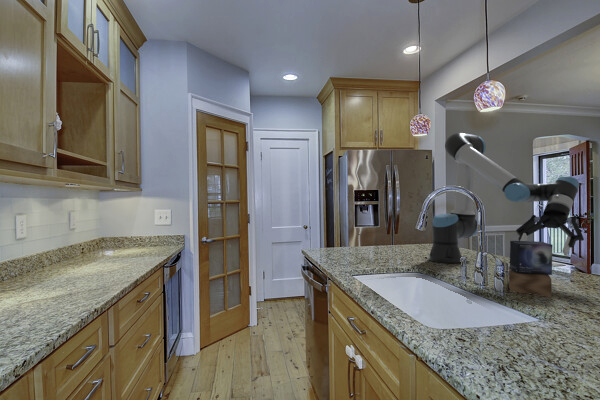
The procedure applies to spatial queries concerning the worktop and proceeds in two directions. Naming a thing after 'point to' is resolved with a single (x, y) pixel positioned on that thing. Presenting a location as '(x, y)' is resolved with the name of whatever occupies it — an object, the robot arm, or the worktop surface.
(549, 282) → the walnut plinth
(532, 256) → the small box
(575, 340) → the worktop surface
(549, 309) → the worktop surface
